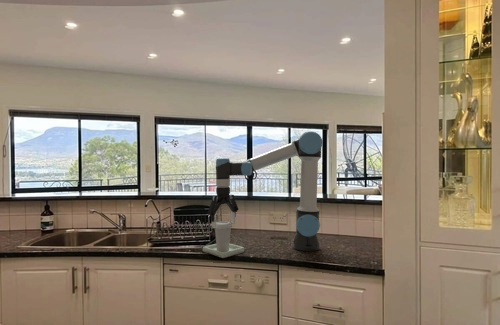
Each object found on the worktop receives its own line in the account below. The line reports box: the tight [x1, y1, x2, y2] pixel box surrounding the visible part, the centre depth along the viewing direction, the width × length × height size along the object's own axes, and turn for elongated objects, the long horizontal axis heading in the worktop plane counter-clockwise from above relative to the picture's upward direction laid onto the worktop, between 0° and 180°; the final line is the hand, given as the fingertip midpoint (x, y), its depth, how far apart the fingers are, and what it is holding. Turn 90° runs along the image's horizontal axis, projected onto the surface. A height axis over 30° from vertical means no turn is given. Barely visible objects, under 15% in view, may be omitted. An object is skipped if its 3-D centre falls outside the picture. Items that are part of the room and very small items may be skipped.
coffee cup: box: [214, 221, 233, 252], centre depth 176 cm, size 10×10×15 cm
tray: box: [202, 242, 245, 259], centre depth 176 cm, size 17×15×2 cm
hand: (223, 225), depth 176 cm, fingers open, 13 cm apart
